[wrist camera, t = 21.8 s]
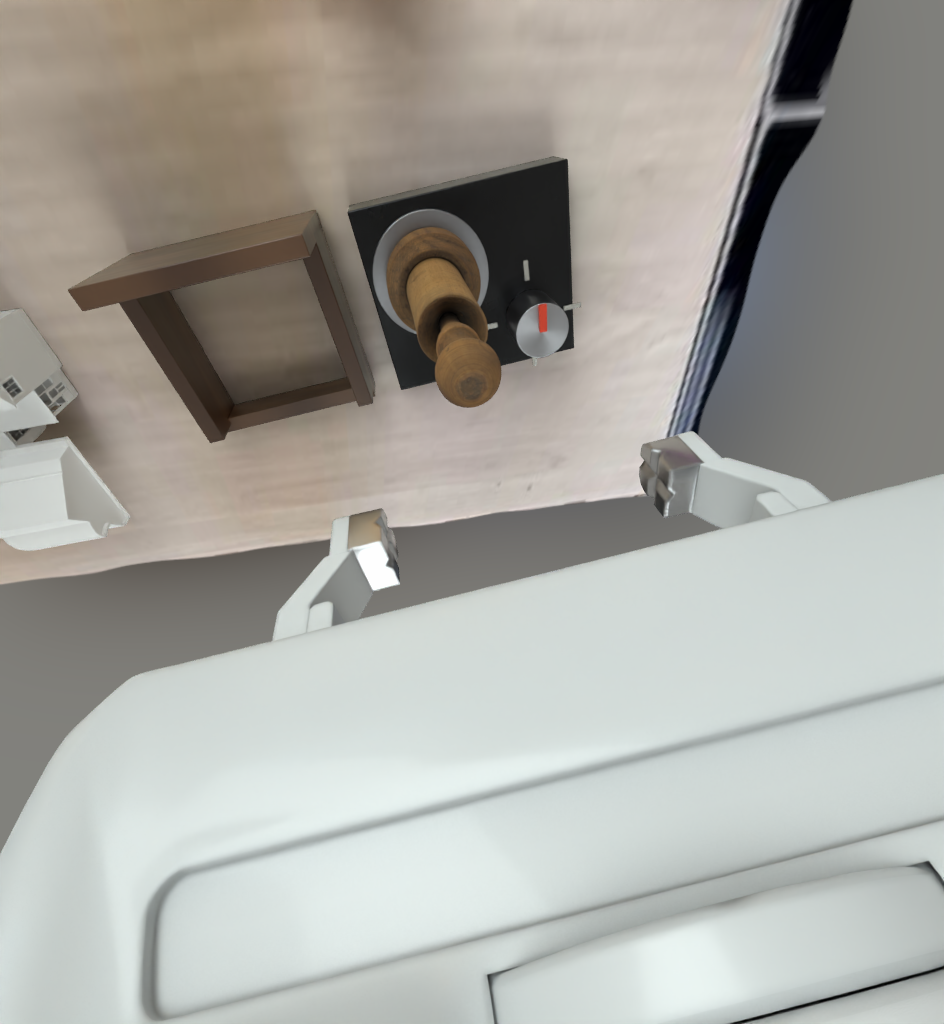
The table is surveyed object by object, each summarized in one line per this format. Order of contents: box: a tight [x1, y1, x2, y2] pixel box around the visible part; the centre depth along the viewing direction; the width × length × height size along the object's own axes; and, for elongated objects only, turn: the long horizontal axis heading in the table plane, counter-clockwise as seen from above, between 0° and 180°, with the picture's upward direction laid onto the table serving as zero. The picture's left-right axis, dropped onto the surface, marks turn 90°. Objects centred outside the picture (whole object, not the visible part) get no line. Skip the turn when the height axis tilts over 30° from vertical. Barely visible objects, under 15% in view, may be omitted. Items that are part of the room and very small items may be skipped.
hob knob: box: [506, 290, 569, 358], centre depth 36 cm, size 4×4×4 cm
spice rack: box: [68, 210, 375, 443], centre depth 34 cm, size 13×13×9 cm
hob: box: [348, 156, 581, 390], centre depth 36 cm, size 16×14×3 cm
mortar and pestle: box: [386, 227, 501, 408], centre depth 27 cm, size 7×6×18 cm
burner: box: [372, 209, 489, 334], centre depth 34 cm, size 8×8×1 cm
